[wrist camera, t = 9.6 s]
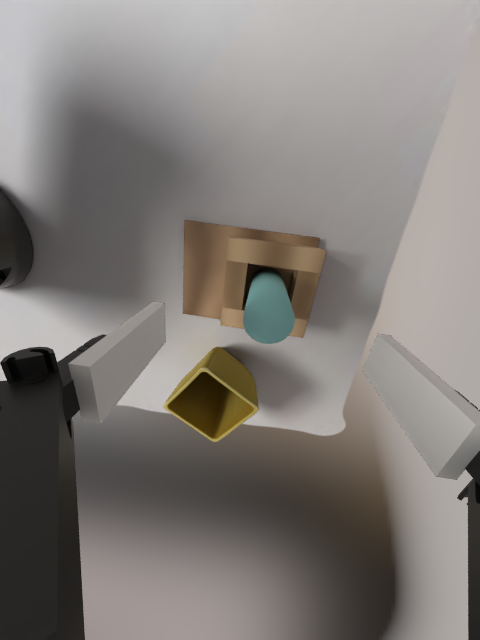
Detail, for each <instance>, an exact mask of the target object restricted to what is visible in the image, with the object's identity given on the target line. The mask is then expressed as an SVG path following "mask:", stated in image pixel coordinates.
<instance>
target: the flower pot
mask: <svg viewBox="0 0 480 640" xmlns="http://www.w3.org/2000/svg"><path fill="white" fill-rule="evenodd" d="M163 407H164V408H165V409H166V410H167V411H168V412H170V413H171V414H173V415H175V416H176V417H177V418H179V419H181V420H182V421H184V422H185V423H186V424H188V425H189V426H191V427H192V428H194V429H195V430H197V431H198V432H200V433H201V434H202V435H204V436H205V437H207V438H208V439H210V440H211V441H213V442H217V441H219V440H220V439H222V438H223V437H224V436H226V435H227V434H229V433H230V432H231V431H233V430H234V429H235V428H237V427H238V426H239V425H241V424H242V423H243V422H245V421H246V420H247V419H249V418H250V417H251V416H253V415H254V414H255V413H256V412H257V411H258V410H259V407H258V399H257V391H256V385H255V381H254V379H253V377H252V375H251V373H250V372H249V371H248V369H247V368H246V367H245V366H244V365H243V364H242V363H240V362H239V361H238V360H236V359H235V358H234V357H233V356H231V355H230V354H229V353H228V352H227V351H225V350H224V349H223V348H221V347H215V348H213V349H212V350H211V351H210V352H209V353H208V354H207V355H206V356H205V357H204V358H203V359H202V360H201V361H200V362H199V363H198V364H197V365H196V366H195V367H194V368H193V369H192V370H191V371H190V372H189V373H188V374H187V375H186V376H185V377H184V378H183V379H182V381H181V382H180V383H179V384H178V386H177V387H176V389H175V390H174V391H173V393H172V394H171V395H170V397H169V398H168V399H167V401H166V402H165V404H164V406H163Z"/></svg>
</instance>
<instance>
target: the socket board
mask: <svg viewBox="0 0 480 640" xmlns="http://www.w3.org/2000/svg"><path fill="white" fill-rule="evenodd" d="M319 240H320V238H315V237H308V236H300V235H293V234H285V233H278V232H270V231H263V230H255V229H248V228H240V227H232V226H225V225H217V224H210V223H202V222H195V221H187V220H185V221H184V276H183V314H190V315H196V316H203V317H209V318H216V319H221V324H220V325H222V326H229V327H235V328H242V329H245V328H244V325H243V316H244V311H245V307H246V303H247V299H248V294H249V290H250V286H251V282H252V278H253V276H254V274H255V273H256V272H257V271H258V270H260V269H262V268H273V269H275V270H277V271H278V272H279V273H280V274H281V276H282V278H283V281H284V284H285V287H286V290H287V294H288V297H289V300H290V303H291V306H292V309H293V312H294V316H295V324H294V327H293V330H292V332H291V333H290V334H289V335H288V336H294V337H301V338H303V337H304V333H305V330H306V326H307V322H308V318H309V315H310V311H311V307H312V303H313V300H314V296H315V292H316V288H317V285H318V281H319V277H320V273H321V270H322V266H323V262H324V258H325V255H326V250H323V249H321V248H318V244H319Z"/></svg>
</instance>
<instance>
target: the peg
mask: <svg viewBox="0 0 480 640" xmlns="http://www.w3.org/2000/svg"><path fill="white" fill-rule="evenodd" d="M294 324H295V316H294V312H293V309H292V306H291V303H290V300H289V297H288V294H287V290H286V287H285V284H284V281H283V278H282V276H281V274H280V273H279V272H278V271H277V270H275V269H273V268H262V269H260V270H258V271H257V272H256V273H255V274H254V276H253V278H252V282H251V286H250V290H249V294H248V299H247V303H246V307H245V311H244V316H243V325H244V328H245V330H246V332H247V333H248V335H249V336H250V337H251V338H253V339H254V340H256V341H258V342H261V343H266V344H272V343H277V342H280V341H282V340H284V339H285V338H286V337H287V336H288V335H289V334H290V333H291V332H292V330H293V327H294Z"/></svg>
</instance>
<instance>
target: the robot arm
mask: <svg viewBox="0 0 480 640" xmlns="http://www.w3.org/2000/svg"><path fill="white" fill-rule="evenodd" d="M32 257H33V252H32V244H31V239H30V236H29V233H28V230H27V228H26V225H25V223H24V221H23V219H22V217H21V216H20V214H19V212H18V211H17V209H16V208H15V207H14V205H13V204H12V203H11V201H10V200H9V199H8V198H7V197H6V196H5V195H4V194H3V193H2V191H0V288H4V287H8V286H13V285H15V284H18V283H19V282H21V281H22V280H23V279H24V278H25V277H26V276H27V274H28V273H29V271H30V268H31V265H32ZM165 342H166V335H165V303H159V302H152V303H150V304H149V305H147V306H146V307H145V308H143V309H142V310H141V311H139V312H138V313H137V314H135V315H134V316H132V317H131V318H130V319H128V320H127V321H126V322H124V323H123V324H122V325H120V326H119V327H117V328H116V329H115V330H113V331H112V332H111V333H109V334H108V335H101V336H98V337H95V338H93V339H91V340H89V341H88V342H87V343H85V344H84V345H83V346H81V347H79V348H78V349H76V351H73V352H72V353H71V354H69V355H68V356H66V357H65V358H63V359H62V360H60V361H59V362H57V361H56V357H55V353H54V351H53V349H50V348H48V347H34V348H28V349H23V350H20V351H17V352H14V353H12V354H10V355H8V356H7V357H5V358H4V359H3V360H2V361H1V362H0V363H1V366H2V369H3V371H4V374H5V376H6V379H7V381H0V640H85V635H84V616H83V599H82V580H81V561H80V542H79V524H78V506H77V487H76V470H75V453H74V452H75V451H74V432H73V422H72V417H73V416H74V415H75V414H76V413H77V412H78V411H80V415H81V419H82V421H86V422H92V423H99V424H101V423H102V421H103V420H104V419H105V418H106V417H107V415H108V414H109V413H110V412H111V410H112V409H113V408H114V406H115V405H116V404H117V403H118V401H119V400H120V399H121V398H122V396H123V395H124V394H125V393H126V391H127V390H128V389H129V388H130V386H131V385H132V384H133V382H134V381H135V380H136V379H137V377H138V376H139V375H140V374H141V372H142V371H143V370H144V369H145V367H146V366H147V365H148V364H149V362H150V361H151V360H152V358H153V357H154V356H155V355H156V353H157V352H158V351H159V350H160V348H161V347H162V346H163V345H164V343H165ZM362 371H363V373H364V374H365V376H366V377H367V378H368V380H369V381H370V383H371V384H372V386H373V387H374V388H375V390H376V391H377V392H378V394H379V396H380V397H381V399H382V400H383V401H384V403H385V404H386V406H387V407H388V409H389V410H390V411H391V413H392V414H393V416H394V417H395V419H396V420H397V421H398V423H399V424H400V426H401V427H402V428H403V430H404V431H405V433H406V434H407V436H408V437H409V439H410V440H411V441H412V443H413V444H414V446H415V447H416V449H417V450H418V451H419V453H420V454H421V456H422V457H423V458H424V460H425V461H426V463H427V464H428V466H429V467H430V469H431V470H432V471H433V473H434V474H435V476H436V477H443V478H449V479H455V480H457V478H458V477H459V476H460V475H461V474H462V472H463V471H464V470H465V469H466V470H467V471H468V473H469V474H470V475H471V476H472V477H473V479H472V481H471V482H470V483H469V484H468V485H467V486H466V487H465V488H464V489H463V490H462V492H461V493H460V494H459V495H458V497H457V498H458V499H459V500H462V499H463V498H464V497H468V503H467V505H468V612H469V613H468V628H469V629H468V630H469V631H468V632H469V640H480V410H478V408H477V407H476V406H474V405H473V404H472V403H469V401H468V400H467V399H466V398H465V397H464V396H462V395H461V394H460V393H459V392H457V391H456V390H454V389H453V388H451V387H450V386H449V385H448V384H447V383H446V382H444V381H443V380H442V379H441V378H440V377H439V376H437V375H436V374H435V373H434V372H433V371H432V370H430V369H429V368H428V367H427V366H426V365H424V364H423V363H422V362H421V361H420V360H419V359H417V358H416V357H415V356H414V355H413V354H412V353H410V352H409V351H408V350H407V349H406V348H405V347H403V346H402V345H401V344H400V343H399V342H397V341H396V340H395V339H394V338H393V337H392V336H390V335H384V334H377V336H376V339H375V341H374V344H373V346H372V348H371V351H370V353H369V355H368V358H367V360H366V362H365V365H364V367H363V370H362Z"/></svg>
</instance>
